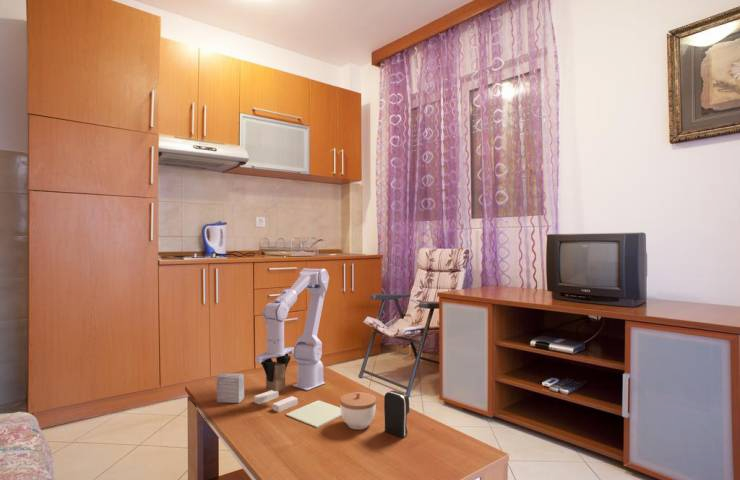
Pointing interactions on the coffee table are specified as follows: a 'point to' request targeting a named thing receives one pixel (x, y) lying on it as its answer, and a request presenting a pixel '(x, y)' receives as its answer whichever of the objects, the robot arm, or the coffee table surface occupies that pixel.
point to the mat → (316, 413)
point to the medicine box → (230, 388)
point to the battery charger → (396, 413)
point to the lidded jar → (358, 409)
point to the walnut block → (277, 378)
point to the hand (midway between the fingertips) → (275, 379)
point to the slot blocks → (278, 405)
